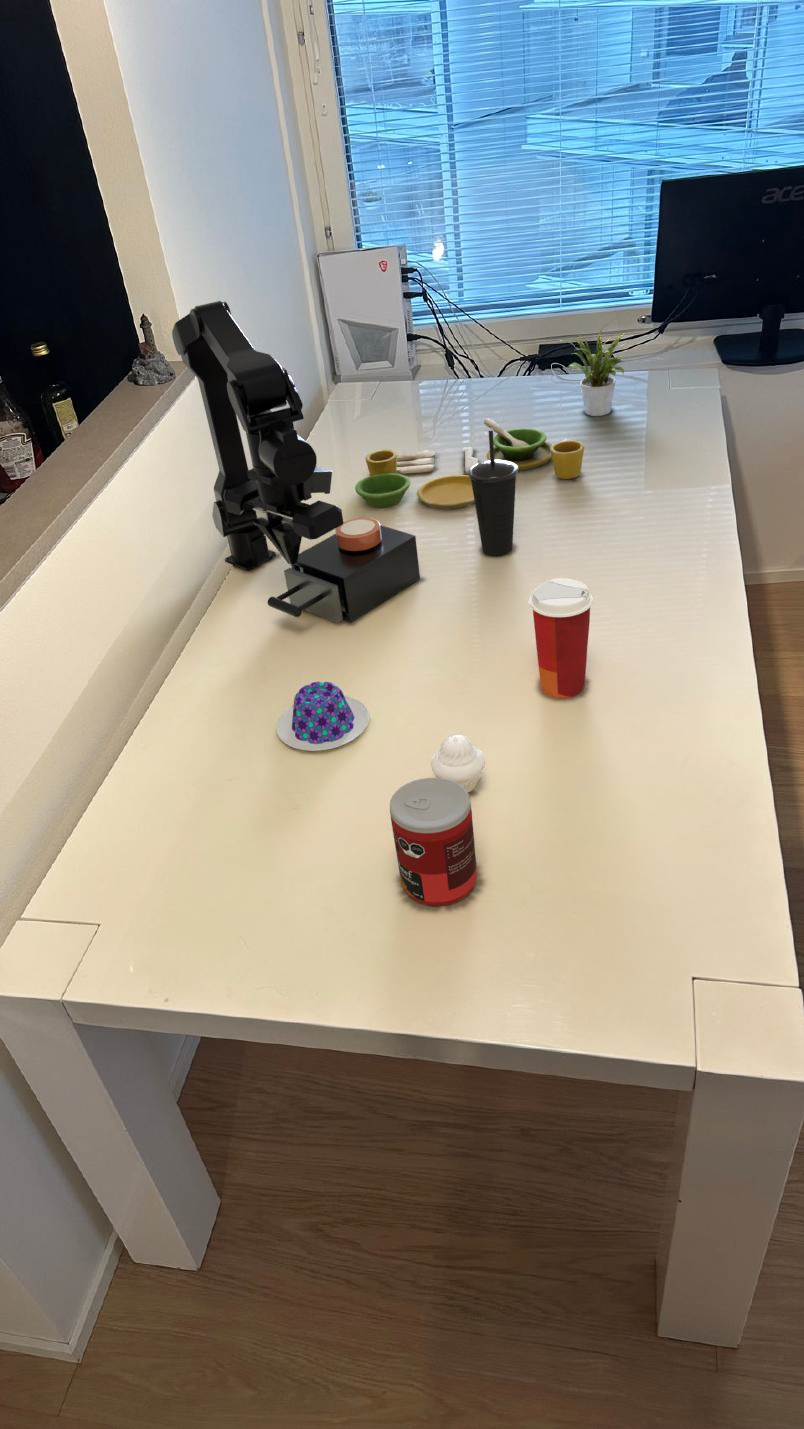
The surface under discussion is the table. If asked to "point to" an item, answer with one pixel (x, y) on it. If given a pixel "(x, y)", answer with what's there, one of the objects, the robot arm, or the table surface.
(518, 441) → the tableware set
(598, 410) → the house plant
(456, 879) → the canned food
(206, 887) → the table surface
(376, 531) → the round tin
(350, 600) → the cabinet
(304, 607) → the drawer
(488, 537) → the drinking cup
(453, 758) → the muffin
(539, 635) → the paper cup
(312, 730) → the pudding
